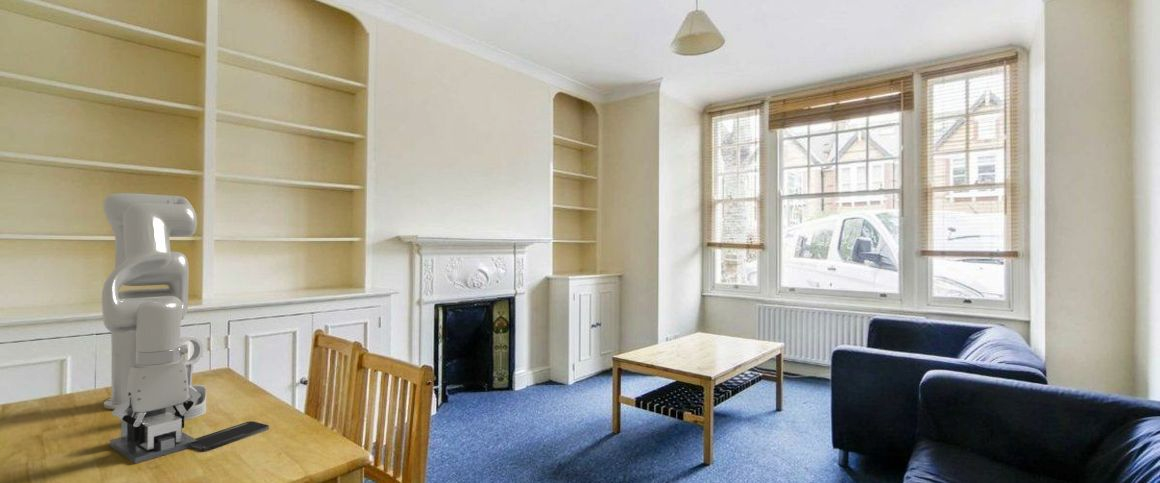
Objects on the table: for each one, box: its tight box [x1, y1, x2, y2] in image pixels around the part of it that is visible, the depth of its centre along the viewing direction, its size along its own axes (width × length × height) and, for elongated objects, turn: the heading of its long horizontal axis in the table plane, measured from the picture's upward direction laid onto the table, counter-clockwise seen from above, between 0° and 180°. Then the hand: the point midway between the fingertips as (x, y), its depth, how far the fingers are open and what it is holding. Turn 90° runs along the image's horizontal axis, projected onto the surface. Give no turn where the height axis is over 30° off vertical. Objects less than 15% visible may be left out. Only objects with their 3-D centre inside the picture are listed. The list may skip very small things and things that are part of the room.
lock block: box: [140, 412, 183, 450], centre depth 113 cm, size 6×7×5 cm
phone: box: [190, 420, 270, 452], centre depth 120 cm, size 8×1×15 cm
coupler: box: [108, 408, 198, 465], centre depth 115 cm, size 16×11×9 cm
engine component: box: [166, 335, 207, 421], centre depth 134 cm, size 11×20×10 cm
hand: (158, 436), depth 113 cm, fingers open, 6 cm apart
